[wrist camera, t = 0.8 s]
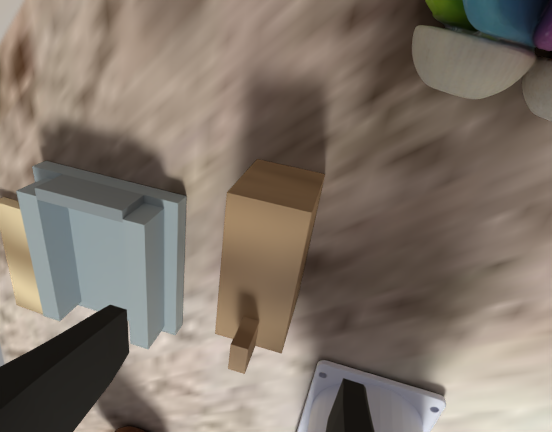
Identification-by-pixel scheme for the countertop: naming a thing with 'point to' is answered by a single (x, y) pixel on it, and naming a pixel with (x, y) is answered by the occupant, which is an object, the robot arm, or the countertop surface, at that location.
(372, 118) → the countertop surface
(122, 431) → the wooden figurine
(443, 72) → the rainbow segmented toy
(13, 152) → the countertop surface
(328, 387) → the robot arm
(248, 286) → the tan pegged block
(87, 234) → the jig
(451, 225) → the countertop surface
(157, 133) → the countertop surface
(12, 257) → the plank
